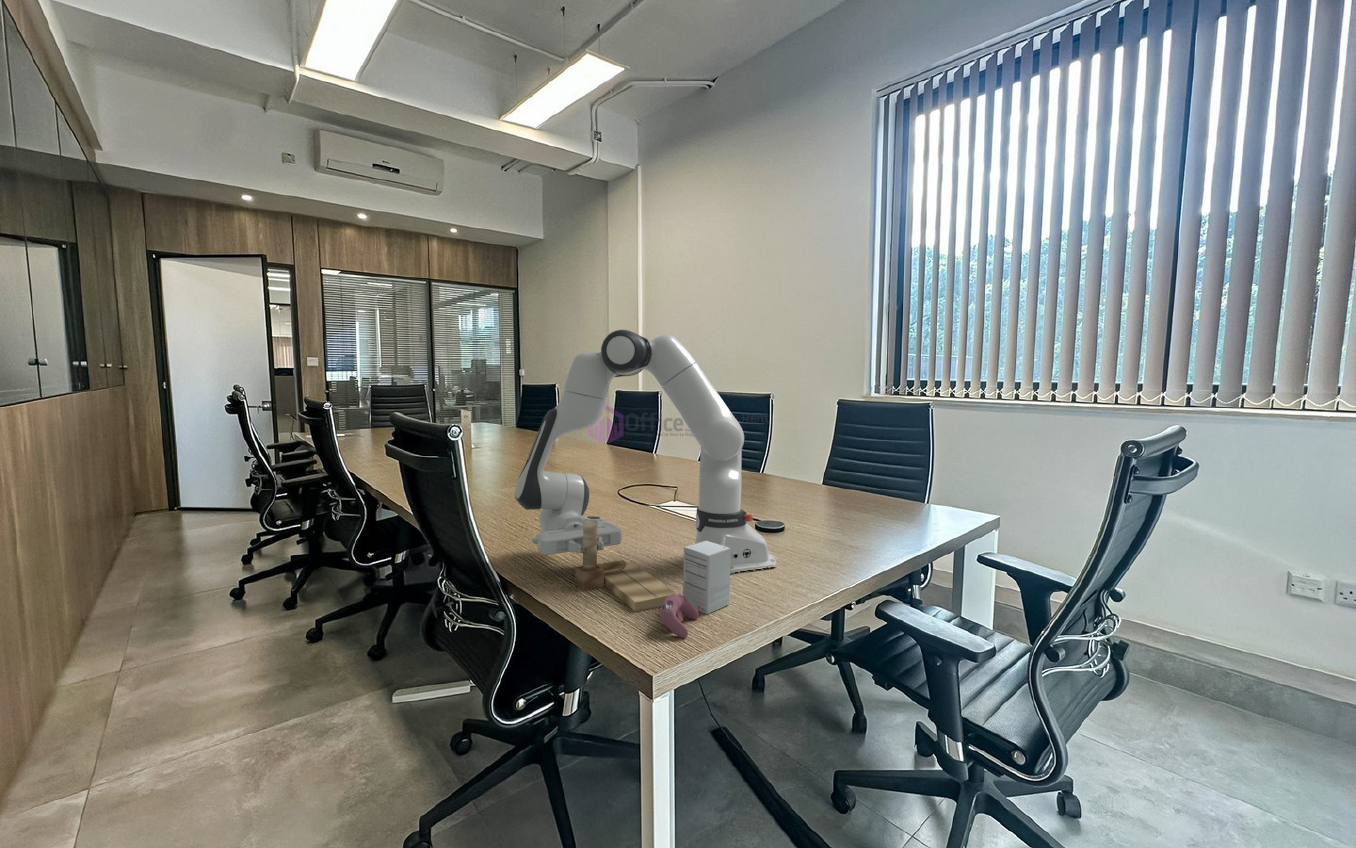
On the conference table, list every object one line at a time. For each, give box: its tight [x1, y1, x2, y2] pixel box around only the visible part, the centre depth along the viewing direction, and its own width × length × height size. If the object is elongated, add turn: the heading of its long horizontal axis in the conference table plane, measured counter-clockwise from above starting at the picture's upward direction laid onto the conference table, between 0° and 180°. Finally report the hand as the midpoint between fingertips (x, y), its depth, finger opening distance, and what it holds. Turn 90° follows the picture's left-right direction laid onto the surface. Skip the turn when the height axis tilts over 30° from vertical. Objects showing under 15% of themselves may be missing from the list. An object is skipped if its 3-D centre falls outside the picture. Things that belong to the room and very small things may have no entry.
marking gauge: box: [574, 520, 627, 592], centre depth 126 cm, size 11×5×15 cm, turn 121°
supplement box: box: [682, 541, 731, 615], centre depth 116 cm, size 7×7×13 cm
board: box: [604, 562, 678, 613], centre depth 124 cm, size 22×10×2 cm, turn 31°
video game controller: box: [659, 592, 700, 639], centre depth 106 cm, size 10×5×7 cm, turn 164°
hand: (591, 548), depth 124 cm, fingers closed on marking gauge, 3 cm apart
